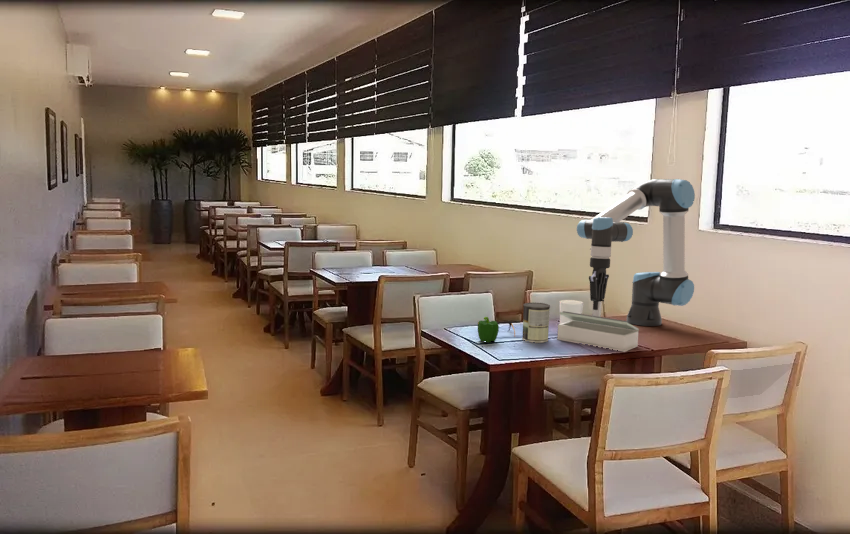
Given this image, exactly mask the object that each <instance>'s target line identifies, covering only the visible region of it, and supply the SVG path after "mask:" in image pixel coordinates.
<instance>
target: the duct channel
mask: <svg viewBox="0 0 850 534" xmlns="http://www.w3.org/2000/svg"><path fill="white" fill-rule="evenodd" d="M556 338H557V340H559V341H563V342H569V343H575V344H579V343H582V344H581V345H585V344H588V345H587V346H590V345H593V346H592V347H596V346H598V348H601V347H603V349H606V348H609V349H608V350H612V349H613V351H617V350H618V351H619V352H624V353H625V352H627V351H630V350H632V349H634V348H637V347H638V345H639V344H638V343H639V331H636V330H630V329H624V328H618V327H612V326H606V325H600V324H593V323H587V322H580V321H574V320H572V321H568V322H565V323H562V324H560V323H559V324H557V337H556Z"/></svg>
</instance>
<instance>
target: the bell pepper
mask: <svg viewBox="0 0 850 534" xmlns="http://www.w3.org/2000/svg"><path fill="white" fill-rule="evenodd" d="M478 322H479V323H478ZM478 322H477V333H478V338H479V340H480V341H481V342H482V341H486V342H488V343H492V342H491V341H494V342H495V341H496V340H497V338H498V333H499V328H500V326H499V323H498V322H497V320H491V321H490V318H489V317H488V316H484V317H483V320H478ZM486 342H485V343H486Z"/></svg>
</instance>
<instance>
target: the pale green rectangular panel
mask: <svg viewBox="0 0 850 534" xmlns="http://www.w3.org/2000/svg"><path fill="white" fill-rule="evenodd" d="M560 314H561V315H563V316H565V317H567V318H569V319H571V320H575V321H581V322H586V323H592V324H598V325H604V326H610V327H616V328H623V329H629V330H635V331H638V332H639V330H640V329H639V328H638V327H637V326H635V325H634V324H631V323H628V322H627V320H622V319H618V318H617V319H615V318H610V317H603V316H600V317H597V316H592V315H589V314H584V313H582V314H578V313H571V312H565V311H563V312H560V311H559V315H560Z"/></svg>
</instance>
